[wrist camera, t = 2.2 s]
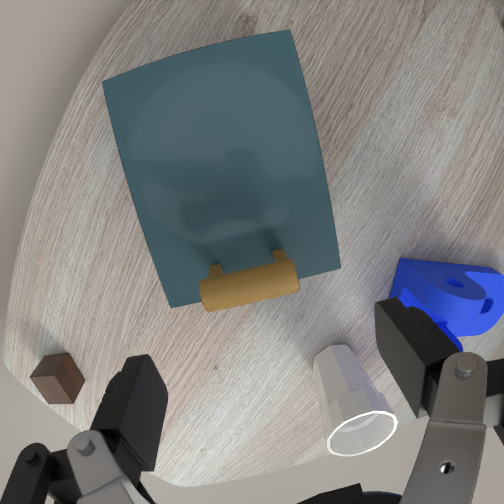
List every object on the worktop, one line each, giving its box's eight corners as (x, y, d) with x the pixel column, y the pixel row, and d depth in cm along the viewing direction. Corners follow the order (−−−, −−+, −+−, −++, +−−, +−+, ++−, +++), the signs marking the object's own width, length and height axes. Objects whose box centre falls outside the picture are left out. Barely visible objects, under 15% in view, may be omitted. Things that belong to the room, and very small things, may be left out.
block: (60, 382, 34) (48, 404, 30) (44, 355, 33) (29, 377, 29) (85, 380, 34) (73, 403, 30) (68, 352, 33) (54, 375, 28)
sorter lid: (337, 264, 22) (363, 299, 17) (172, 302, 22) (157, 346, 17) (288, 33, 16) (304, 2, 11) (106, 83, 17) (68, 70, 12)
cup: (357, 330, 33) (396, 400, 22) (365, 371, 35) (397, 439, 25) (299, 350, 33) (320, 428, 23) (312, 390, 36) (332, 463, 25)
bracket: (378, 328, 33) (412, 381, 25) (399, 258, 30) (447, 299, 22) (486, 326, 34) (524, 362, 26) (507, 269, 32) (552, 300, 23)
